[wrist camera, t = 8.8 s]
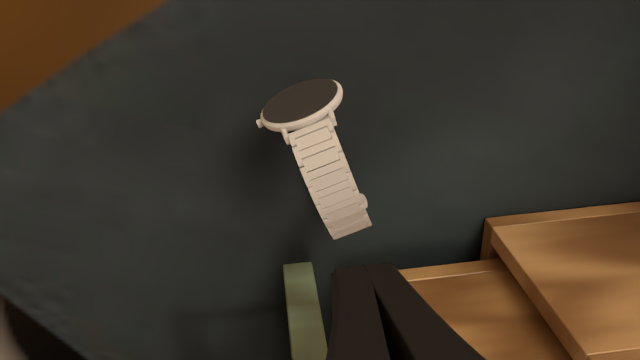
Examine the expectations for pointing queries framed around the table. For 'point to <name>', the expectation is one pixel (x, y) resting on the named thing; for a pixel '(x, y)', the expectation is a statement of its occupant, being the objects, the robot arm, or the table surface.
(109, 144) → the table surface
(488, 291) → the drawer
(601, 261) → the cabinet
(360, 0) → the table surface
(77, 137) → the table surface
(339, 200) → the wristwatch
